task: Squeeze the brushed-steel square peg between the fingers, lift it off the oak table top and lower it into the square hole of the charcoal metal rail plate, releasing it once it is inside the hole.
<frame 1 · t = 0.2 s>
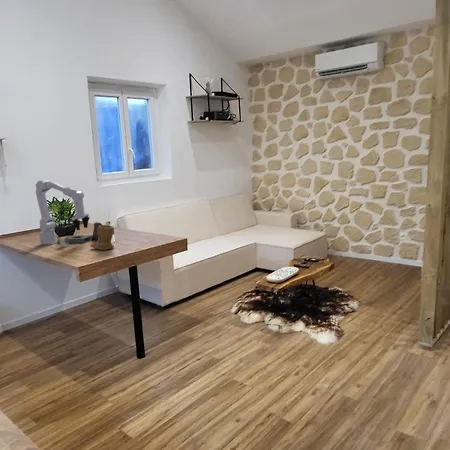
hand: (82, 228, 277), 10 cm above the table, fingers open, 7 cm apart
rail plate: (75, 241, 286), on the table
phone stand: (99, 239, 287), on the table
steel peg: (64, 246, 272), on the table
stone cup: (104, 248, 257), on the table
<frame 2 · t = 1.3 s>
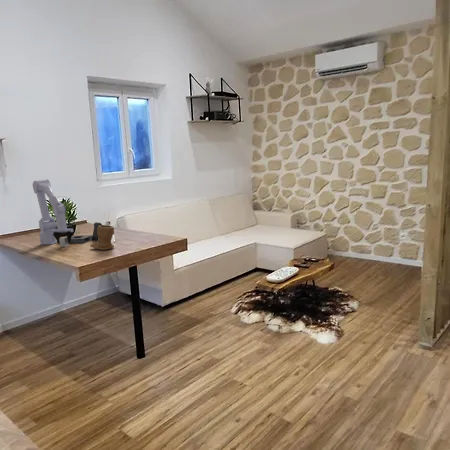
hand: (64, 242, 272), 2 cm above the table, fingers open, 7 cm apart
nothing on the table moved.
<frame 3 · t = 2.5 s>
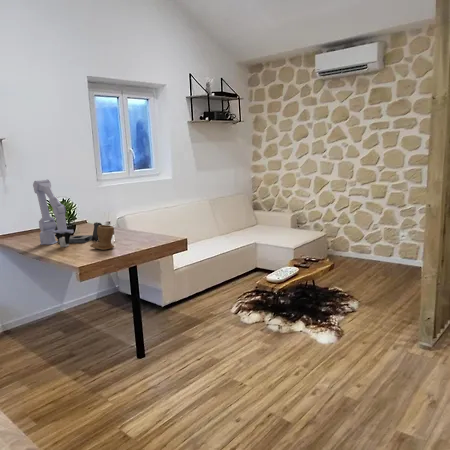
hand: (64, 243, 272), 2 cm above the table, fingers closed on steel peg, 4 cm apart
steel peg: (64, 246, 272), on the table, touching gripper
everything else where it was.
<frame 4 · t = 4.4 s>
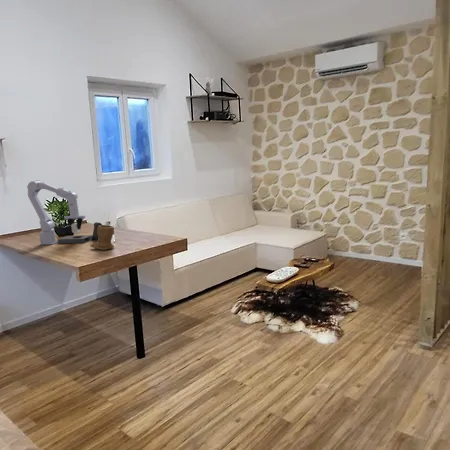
hand: (76, 229, 283), 9 cm above the table, fingers closed on steel peg, 4 cm apart
steel peg: (76, 232, 283), point 7 cm above the table, touching gripper
everything else where it was.
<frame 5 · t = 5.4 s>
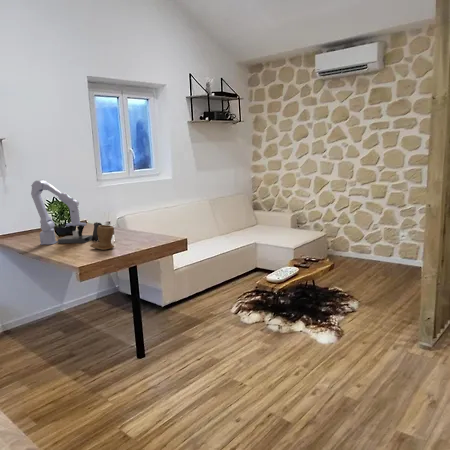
hand: (77, 236, 285), 4 cm above the table, fingers closed on steel peg, 4 cm apart
steel peg: (77, 239, 284), point 2 cm above the table, touching gripper
everything else where it was.
when the fingers open (3 cm above the table, at t = 6.2 s): steel peg drops 2 cm, resting in rail plate.
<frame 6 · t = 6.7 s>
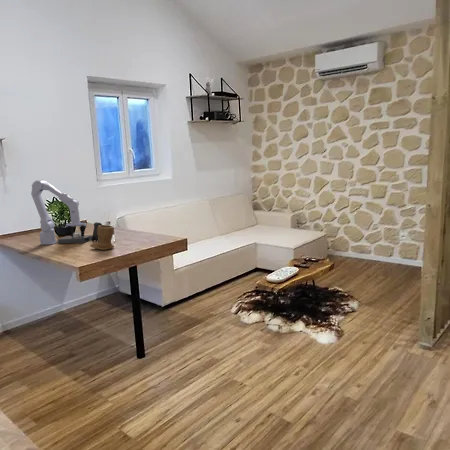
hand: (77, 236, 285), 3 cm above the table, fingers open, 7 cm apart
steel peg: (78, 241, 285), resting in rail plate
everything else where it was.
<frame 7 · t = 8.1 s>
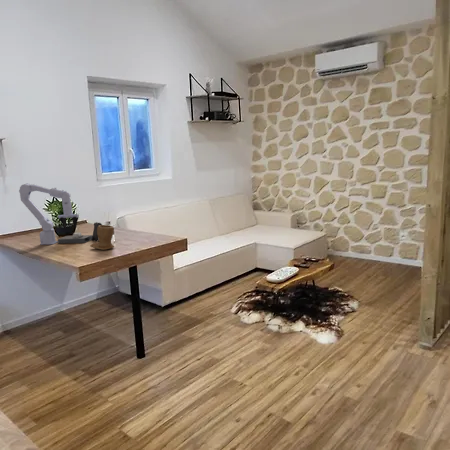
hand: (70, 227, 286), 9 cm above the table, fingers open, 7 cm apart
nothing on the table moved.
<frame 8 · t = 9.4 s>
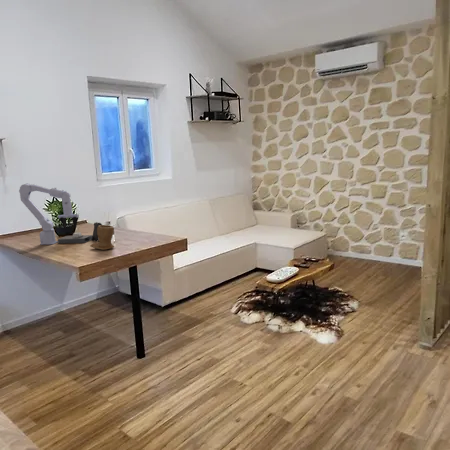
hand: (70, 227, 286), 9 cm above the table, fingers open, 7 cm apart
nothing on the table moved.
at the end: steel peg 0.4 cm from the target spot on the rail plate, point 0.0 cm above the rail plate's base; steel peg tilted 0°; the gripper is holding nothing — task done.
